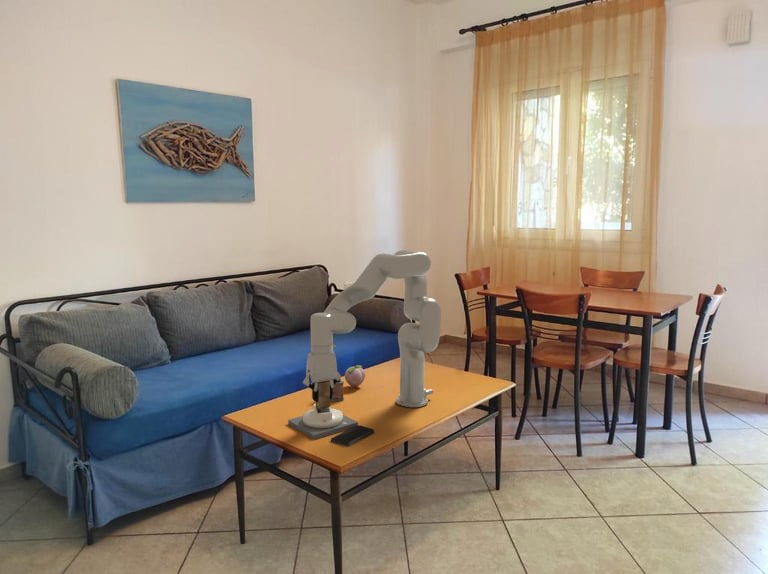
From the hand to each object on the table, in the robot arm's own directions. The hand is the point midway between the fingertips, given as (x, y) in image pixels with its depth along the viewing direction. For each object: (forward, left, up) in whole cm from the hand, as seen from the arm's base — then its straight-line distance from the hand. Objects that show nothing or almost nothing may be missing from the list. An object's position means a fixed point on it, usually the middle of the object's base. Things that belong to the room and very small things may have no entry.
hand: (322, 399), depth 191 cm
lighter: (-18, -20, -10) cm, 28 cm away
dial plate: (0, 0, -9) cm, 9 cm away
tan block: (0, 0, -5) cm, 5 cm away
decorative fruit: (-33, -27, -10) cm, 44 cm away
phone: (-3, +15, -10) cm, 18 cm away
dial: (0, 0, -8) cm, 8 cm away
